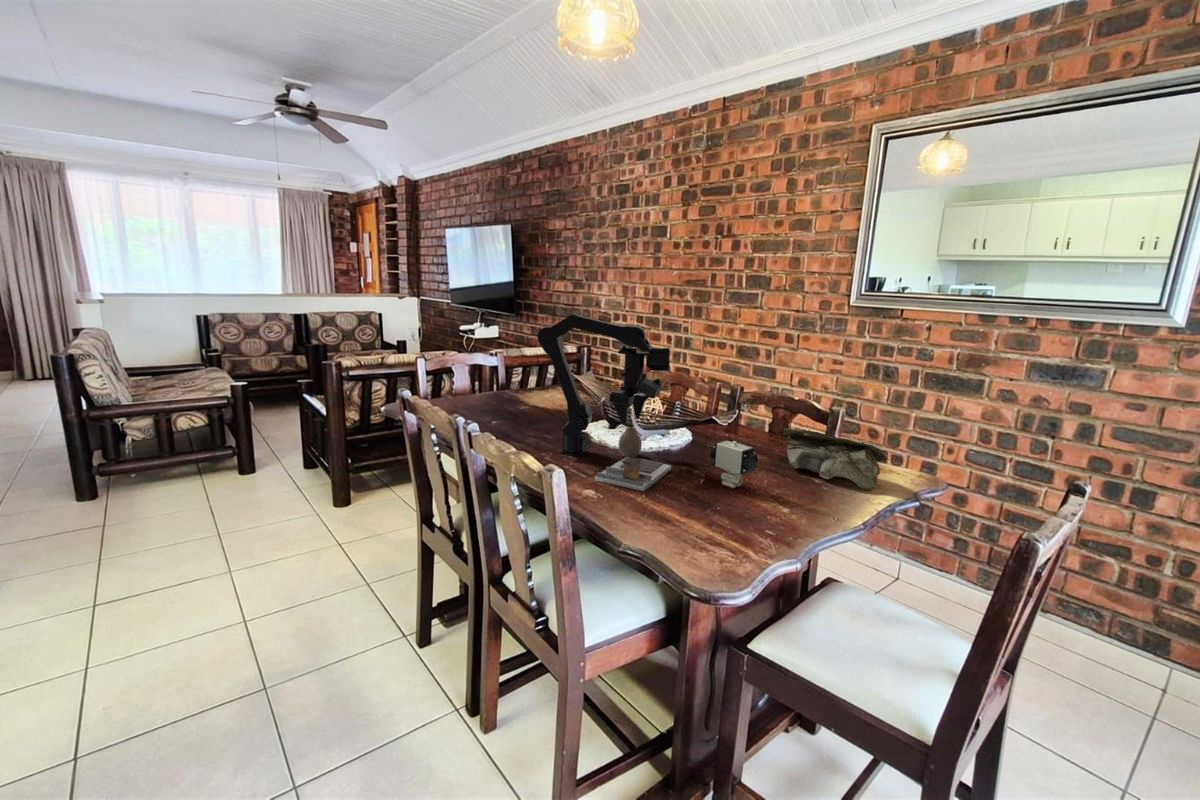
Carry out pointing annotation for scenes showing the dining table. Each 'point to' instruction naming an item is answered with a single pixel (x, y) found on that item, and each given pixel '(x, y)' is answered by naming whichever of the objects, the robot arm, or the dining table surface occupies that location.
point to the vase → (630, 443)
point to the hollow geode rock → (834, 456)
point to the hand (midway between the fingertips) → (631, 421)
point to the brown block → (631, 468)
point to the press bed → (647, 477)
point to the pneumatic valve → (733, 461)
